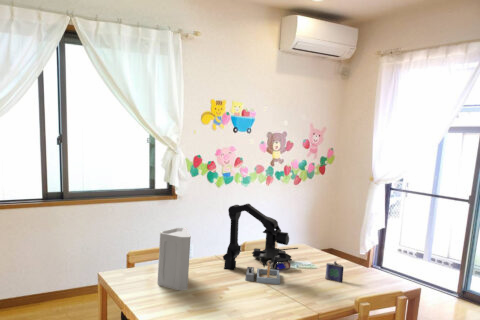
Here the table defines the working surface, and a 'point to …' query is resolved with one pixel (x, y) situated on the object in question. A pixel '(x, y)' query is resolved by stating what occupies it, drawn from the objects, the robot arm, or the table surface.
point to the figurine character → (281, 265)
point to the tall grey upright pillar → (174, 258)
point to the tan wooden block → (268, 270)
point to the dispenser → (250, 274)
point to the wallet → (334, 272)
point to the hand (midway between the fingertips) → (268, 267)
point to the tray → (268, 280)
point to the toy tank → (271, 258)
